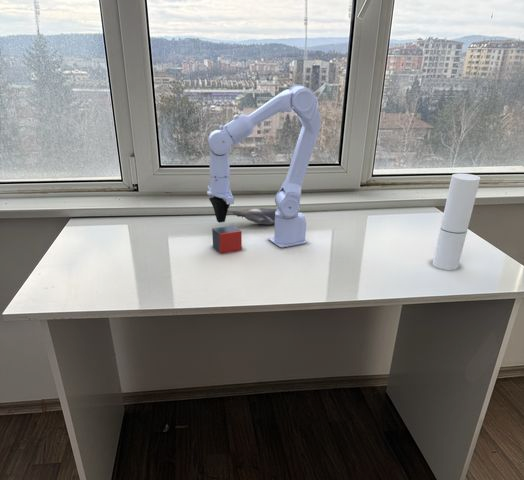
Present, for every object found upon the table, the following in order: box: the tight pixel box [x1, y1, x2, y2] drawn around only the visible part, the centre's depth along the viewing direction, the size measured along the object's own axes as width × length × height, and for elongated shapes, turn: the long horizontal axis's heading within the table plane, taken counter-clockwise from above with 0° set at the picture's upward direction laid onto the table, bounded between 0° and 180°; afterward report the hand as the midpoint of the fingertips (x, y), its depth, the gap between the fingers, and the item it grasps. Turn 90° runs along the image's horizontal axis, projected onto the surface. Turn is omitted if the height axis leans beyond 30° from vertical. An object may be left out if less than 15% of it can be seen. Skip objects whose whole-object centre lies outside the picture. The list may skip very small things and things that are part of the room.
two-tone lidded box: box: [211, 224, 243, 255], centre depth 150 cm, size 7×6×6 cm
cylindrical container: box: [432, 172, 481, 271], centre depth 137 cm, size 7×7×25 cm
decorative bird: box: [227, 207, 277, 225], centre depth 170 cm, size 6×25×5 cm, turn 99°
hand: (221, 221), depth 151 cm, fingers closed
